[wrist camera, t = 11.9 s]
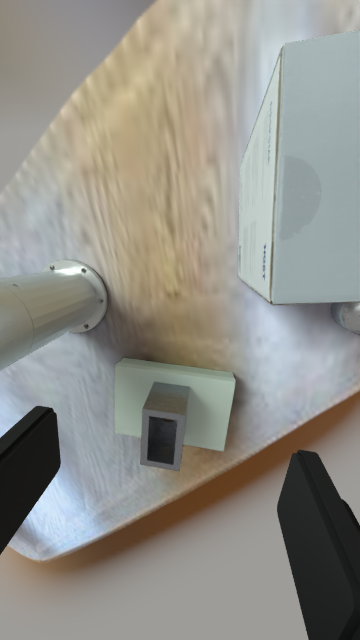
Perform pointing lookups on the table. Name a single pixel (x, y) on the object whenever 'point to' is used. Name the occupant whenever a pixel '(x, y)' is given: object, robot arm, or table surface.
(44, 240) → the table surface
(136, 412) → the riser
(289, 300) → the hard drive box
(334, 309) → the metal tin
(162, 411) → the housing
